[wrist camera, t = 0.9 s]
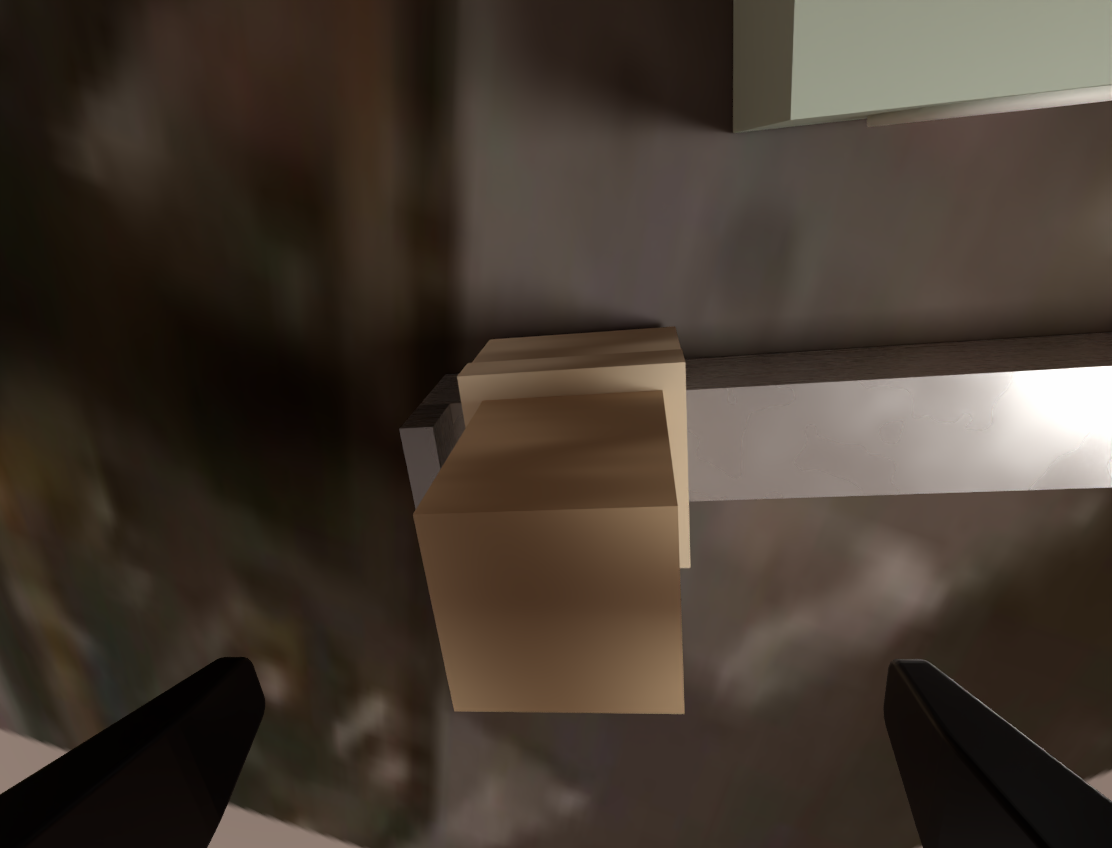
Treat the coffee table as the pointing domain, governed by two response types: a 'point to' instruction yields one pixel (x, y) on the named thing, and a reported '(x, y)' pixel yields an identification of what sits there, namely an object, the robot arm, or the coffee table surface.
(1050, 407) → the rail
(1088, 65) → the cabinet
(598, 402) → the carriage
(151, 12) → the coffee table surface
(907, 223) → the coffee table surface
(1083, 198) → the coffee table surface
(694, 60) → the coffee table surface
